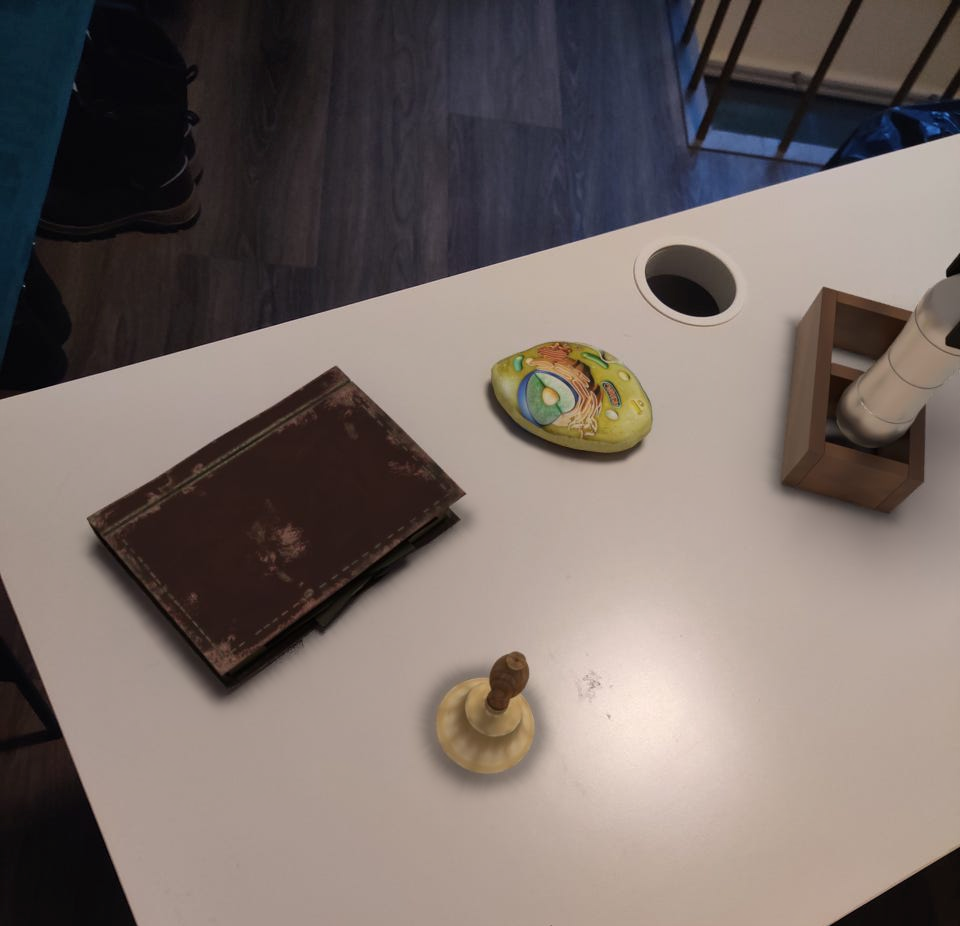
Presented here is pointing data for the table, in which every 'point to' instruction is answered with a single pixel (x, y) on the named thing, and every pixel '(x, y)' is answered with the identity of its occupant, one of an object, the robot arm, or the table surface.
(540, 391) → the cell model
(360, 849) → the table surface
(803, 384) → the shelf
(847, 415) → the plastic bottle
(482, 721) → the hand bell
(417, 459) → the diary
